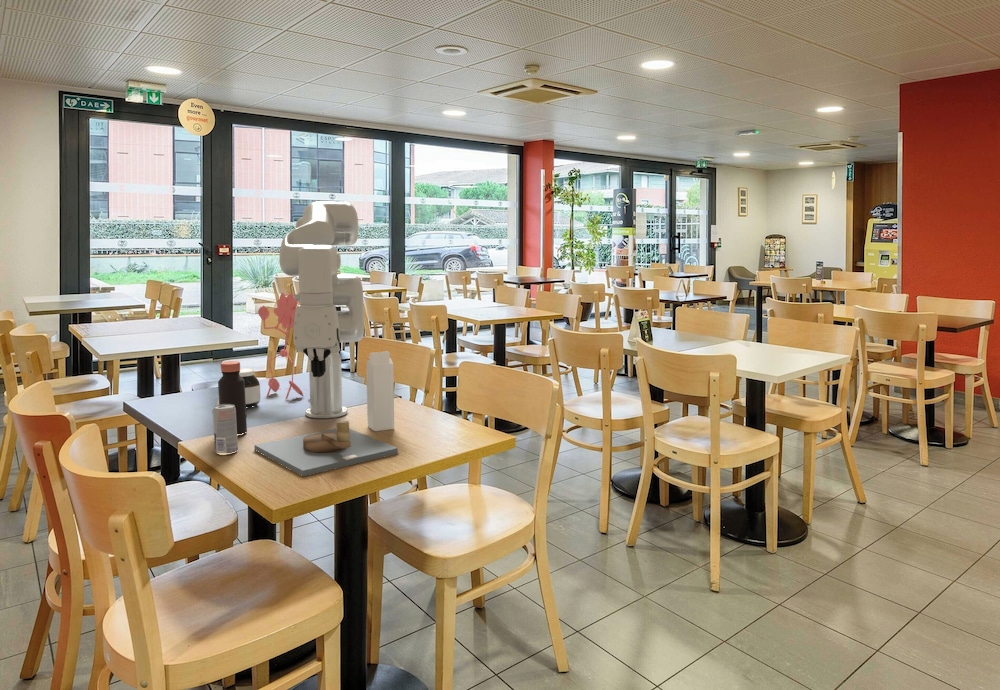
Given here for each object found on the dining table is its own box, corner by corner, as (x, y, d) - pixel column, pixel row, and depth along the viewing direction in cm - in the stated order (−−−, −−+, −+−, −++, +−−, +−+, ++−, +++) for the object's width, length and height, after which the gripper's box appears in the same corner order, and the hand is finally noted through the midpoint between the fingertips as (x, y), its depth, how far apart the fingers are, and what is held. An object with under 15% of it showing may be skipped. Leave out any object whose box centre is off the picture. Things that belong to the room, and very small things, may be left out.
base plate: (254, 450, 179) (254, 444, 179) (344, 431, 197) (344, 425, 196) (302, 476, 160) (302, 469, 160) (397, 453, 178) (397, 447, 178)
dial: (295, 444, 179) (294, 414, 177) (334, 436, 186) (333, 407, 185) (326, 460, 167) (325, 427, 166) (366, 451, 174) (365, 419, 173)
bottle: (222, 438, 189) (218, 365, 186) (219, 432, 195) (215, 361, 192) (248, 435, 192) (245, 363, 189) (245, 429, 198) (241, 359, 195)
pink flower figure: (302, 403, 228) (299, 295, 223) (248, 393, 241) (245, 291, 236) (335, 395, 241) (334, 293, 236) (283, 386, 254) (281, 290, 249)
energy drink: (229, 448, 181) (227, 402, 179) (242, 451, 178) (240, 405, 176) (210, 453, 177) (208, 406, 175) (223, 457, 174) (221, 410, 172)
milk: (394, 429, 200) (393, 353, 197) (374, 431, 197) (373, 354, 194) (387, 423, 205) (386, 349, 202) (367, 426, 202) (365, 351, 199)
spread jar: (264, 406, 225) (263, 370, 223) (234, 413, 216) (232, 376, 214) (240, 400, 231) (238, 366, 230) (210, 407, 222) (208, 371, 220)
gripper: (279, 300, 163) (282, 378, 166) (341, 302, 161) (343, 380, 164) (292, 297, 170) (295, 371, 173) (352, 299, 168) (353, 374, 171)
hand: (318, 375), depth 169 cm, fingers closed
